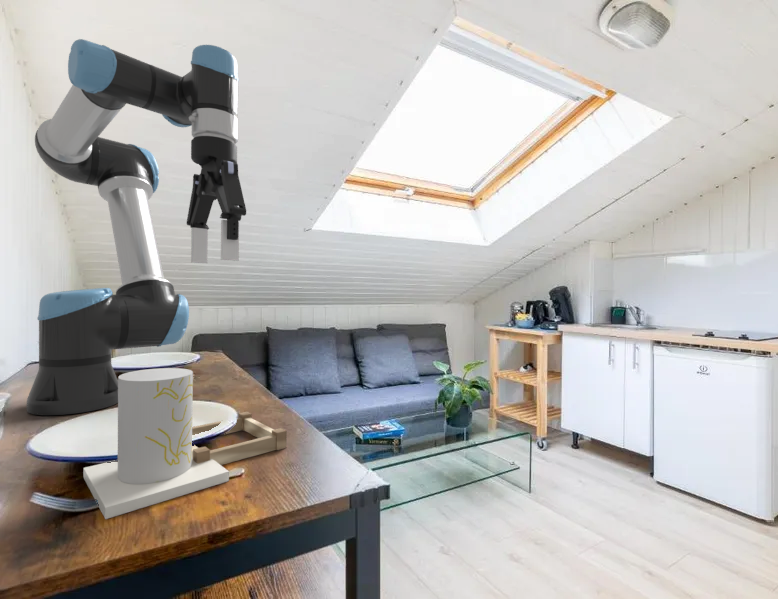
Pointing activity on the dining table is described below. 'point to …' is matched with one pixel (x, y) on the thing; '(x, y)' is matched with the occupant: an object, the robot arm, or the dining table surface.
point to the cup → (154, 424)
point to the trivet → (147, 486)
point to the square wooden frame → (263, 444)
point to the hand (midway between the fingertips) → (213, 261)
